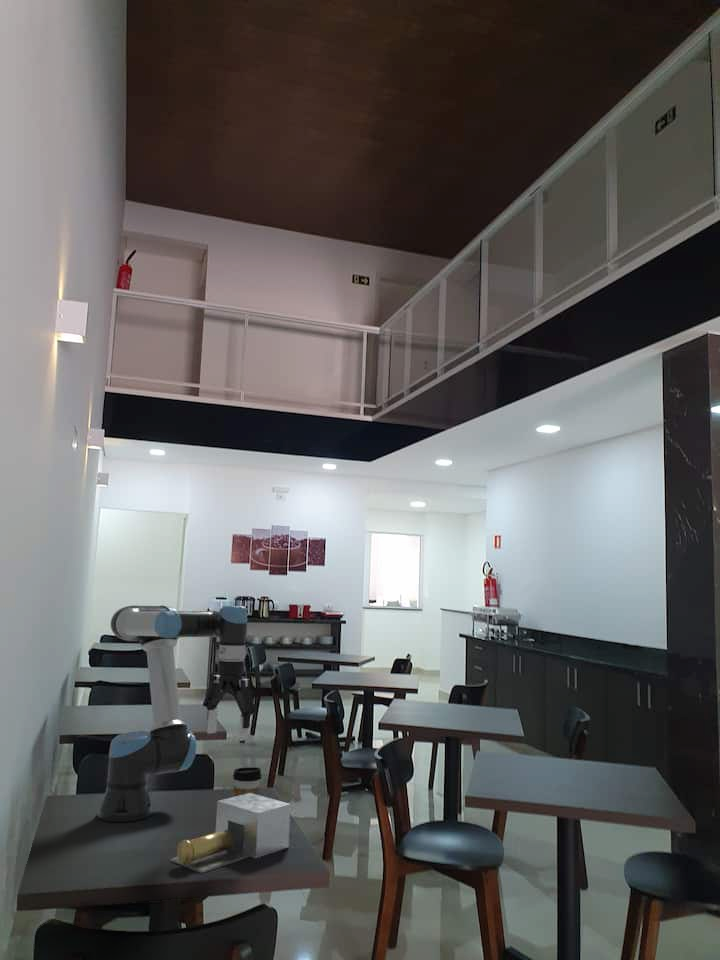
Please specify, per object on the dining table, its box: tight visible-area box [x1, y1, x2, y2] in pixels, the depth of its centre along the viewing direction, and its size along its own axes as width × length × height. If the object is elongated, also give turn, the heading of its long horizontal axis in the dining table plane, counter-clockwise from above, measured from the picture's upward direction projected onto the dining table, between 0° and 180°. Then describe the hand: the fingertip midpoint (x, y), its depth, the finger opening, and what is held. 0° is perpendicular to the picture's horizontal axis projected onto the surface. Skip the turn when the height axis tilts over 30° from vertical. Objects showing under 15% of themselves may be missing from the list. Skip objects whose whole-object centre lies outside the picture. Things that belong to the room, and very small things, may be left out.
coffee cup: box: [232, 766, 262, 797], centre depth 220 cm, size 8×8×15 cm
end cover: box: [176, 830, 233, 865], centre depth 187 cm, size 6×14×6 cm, turn 141°
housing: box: [170, 793, 291, 874], centre depth 193 cm, size 16×28×11 cm, turn 141°
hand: (227, 736), depth 210 cm, fingers open, 13 cm apart
